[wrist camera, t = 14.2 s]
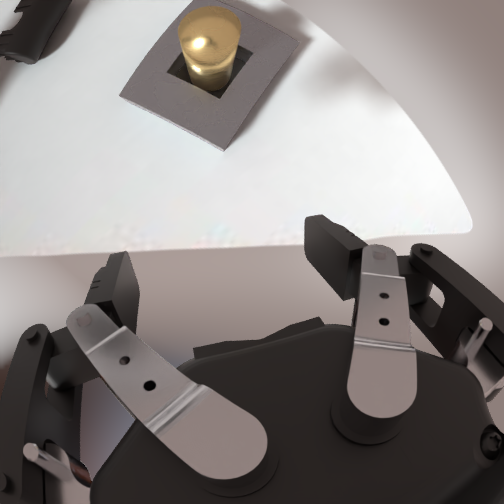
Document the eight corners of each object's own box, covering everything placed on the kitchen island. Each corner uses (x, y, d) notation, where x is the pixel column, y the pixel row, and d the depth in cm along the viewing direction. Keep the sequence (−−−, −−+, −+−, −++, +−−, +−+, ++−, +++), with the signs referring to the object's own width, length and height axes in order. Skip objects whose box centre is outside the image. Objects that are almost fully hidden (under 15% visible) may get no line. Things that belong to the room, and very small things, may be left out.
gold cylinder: (181, 80, 24) (165, 38, 14) (204, 50, 23) (201, -2, 13) (216, 98, 25) (218, 62, 15) (239, 67, 24) (253, 21, 14)
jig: (128, 102, 24) (118, 95, 21) (200, 8, 21) (199, -7, 18) (223, 151, 27) (224, 150, 24) (290, 53, 24) (300, 42, 21)
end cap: (46, 66, 20) (18, 53, 14) (14, 65, 18) (-14, 55, 12) (82, 3, 17) (62, -19, 11) (47, 5, 16) (25, -12, 9)
